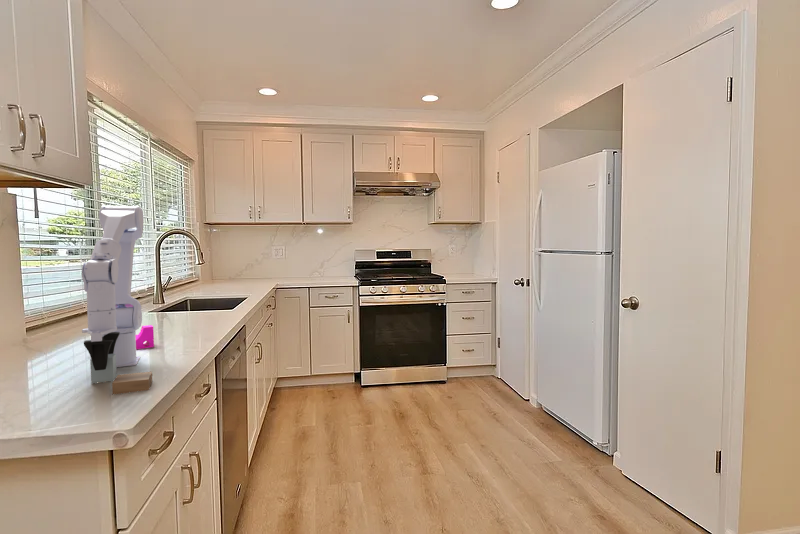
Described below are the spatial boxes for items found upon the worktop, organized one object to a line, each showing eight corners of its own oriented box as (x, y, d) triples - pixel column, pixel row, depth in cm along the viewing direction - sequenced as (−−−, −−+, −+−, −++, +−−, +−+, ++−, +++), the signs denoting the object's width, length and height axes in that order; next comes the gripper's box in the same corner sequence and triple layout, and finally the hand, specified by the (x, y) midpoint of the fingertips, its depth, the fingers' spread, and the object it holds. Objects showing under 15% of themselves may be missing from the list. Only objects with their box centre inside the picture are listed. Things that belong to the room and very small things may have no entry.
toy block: (150, 346, 149) (150, 324, 149) (154, 350, 144) (153, 326, 144) (95, 353, 140) (94, 329, 140) (97, 357, 135) (96, 332, 135)
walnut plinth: (118, 387, 106) (117, 374, 106) (152, 383, 109) (152, 371, 109) (112, 396, 100) (112, 383, 99) (149, 392, 102) (148, 379, 102)
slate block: (95, 379, 112) (94, 355, 111) (116, 377, 113) (115, 353, 113) (91, 384, 107) (90, 359, 107) (113, 382, 109) (112, 357, 109)
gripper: (88, 307, 115) (90, 361, 115) (74, 314, 101) (76, 375, 102) (121, 305, 117) (122, 358, 118) (111, 312, 104) (113, 371, 105)
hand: (103, 366), depth 110 cm, fingers open, 7 cm apart
